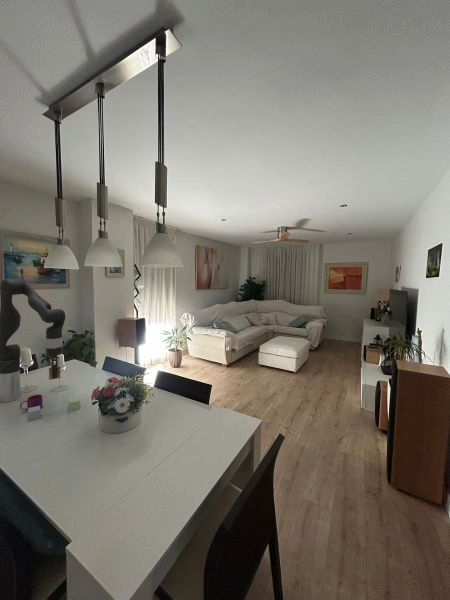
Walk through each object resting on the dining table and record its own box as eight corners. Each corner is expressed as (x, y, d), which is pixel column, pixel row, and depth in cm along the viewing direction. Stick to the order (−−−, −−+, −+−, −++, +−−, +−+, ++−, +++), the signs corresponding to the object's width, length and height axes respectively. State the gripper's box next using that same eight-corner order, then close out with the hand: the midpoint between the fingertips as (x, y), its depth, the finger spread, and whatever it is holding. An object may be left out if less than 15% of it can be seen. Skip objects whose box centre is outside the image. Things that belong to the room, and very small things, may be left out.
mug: (43, 408, 136) (43, 397, 135) (21, 415, 128) (20, 403, 128) (40, 404, 140) (40, 393, 140) (18, 411, 133) (18, 399, 132)
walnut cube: (49, 376, 131) (48, 367, 131) (60, 375, 134) (59, 366, 134) (49, 379, 127) (48, 370, 127) (60, 378, 130) (60, 369, 130)
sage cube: (68, 407, 138) (68, 399, 137) (78, 405, 141) (78, 397, 140) (69, 411, 134) (69, 403, 133) (79, 409, 137) (79, 400, 136)
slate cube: (28, 417, 127) (28, 408, 127) (40, 414, 130) (40, 405, 130) (27, 421, 123) (27, 412, 123) (40, 418, 126) (40, 409, 126)
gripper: (45, 343, 133) (46, 373, 134) (45, 350, 121) (46, 382, 123) (61, 342, 137) (62, 370, 139) (63, 348, 126) (63, 379, 127)
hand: (54, 376), depth 131 cm, fingers closed on walnut cube, 5 cm apart
